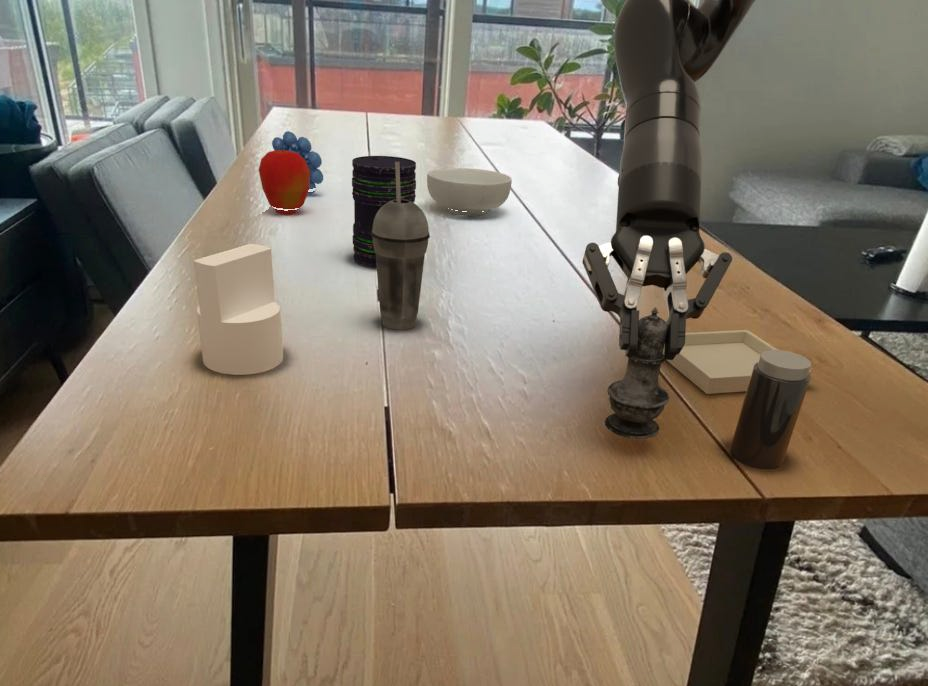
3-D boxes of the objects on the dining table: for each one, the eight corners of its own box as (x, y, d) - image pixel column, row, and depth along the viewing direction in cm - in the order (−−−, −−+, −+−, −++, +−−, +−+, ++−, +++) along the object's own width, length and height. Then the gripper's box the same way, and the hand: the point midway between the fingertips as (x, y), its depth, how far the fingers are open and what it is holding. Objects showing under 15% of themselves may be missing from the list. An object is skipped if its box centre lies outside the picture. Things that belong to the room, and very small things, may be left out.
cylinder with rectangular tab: (242, 337, 93) (232, 238, 87) (299, 355, 90) (294, 253, 83) (185, 361, 87) (170, 255, 80) (245, 381, 83) (234, 272, 77)
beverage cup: (435, 320, 102) (443, 160, 91) (411, 338, 96) (416, 169, 86) (387, 309, 104) (389, 152, 94) (360, 326, 99) (359, 161, 88)
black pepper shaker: (763, 441, 78) (792, 347, 72) (793, 466, 74) (827, 368, 68) (719, 444, 77) (746, 349, 71) (748, 470, 73) (778, 371, 67)
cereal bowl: (525, 215, 155) (529, 178, 151) (464, 225, 145) (466, 186, 141) (470, 198, 165) (472, 163, 162) (409, 207, 156) (410, 170, 152)
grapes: (262, 195, 158) (258, 132, 152) (277, 188, 164) (273, 127, 157) (315, 201, 156) (313, 137, 149) (328, 194, 161) (326, 132, 155)
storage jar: (425, 265, 123) (428, 166, 115) (370, 272, 118) (370, 169, 110) (395, 248, 130) (397, 154, 122) (342, 254, 125) (340, 157, 117)
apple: (320, 212, 148) (318, 145, 142) (289, 221, 141) (285, 151, 135) (283, 204, 152) (279, 139, 146) (252, 212, 145) (246, 144, 139)
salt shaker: (591, 415, 76) (610, 298, 70) (642, 409, 78) (666, 294, 71) (620, 443, 72) (643, 321, 65) (674, 436, 73) (702, 316, 67)
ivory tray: (743, 344, 101) (747, 329, 99) (806, 387, 90) (811, 371, 89) (652, 348, 97) (655, 334, 96) (706, 394, 87) (710, 378, 86)
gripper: (590, 153, 69) (577, 331, 65) (748, 164, 68) (745, 345, 64) (579, 202, 76) (567, 364, 73) (722, 211, 75) (718, 376, 72)
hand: (651, 354), depth 68 cm, fingers closed on salt shaker, 3 cm apart
